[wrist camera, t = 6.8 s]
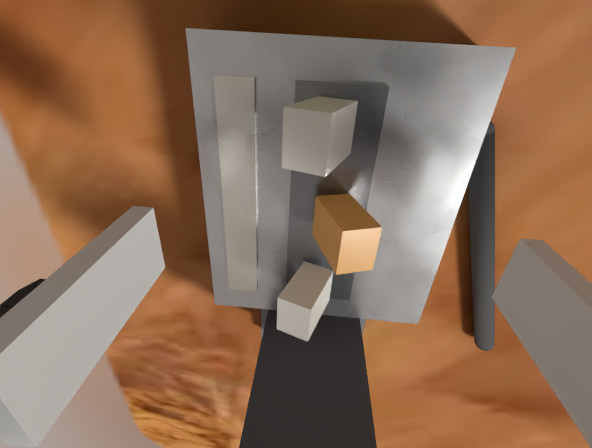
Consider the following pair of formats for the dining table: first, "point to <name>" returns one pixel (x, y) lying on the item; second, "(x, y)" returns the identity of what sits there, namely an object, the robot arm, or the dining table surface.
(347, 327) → the dark grey rectangular block
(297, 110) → the cream colored chunky brick
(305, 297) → the matte cream brick
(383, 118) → the breaker panel
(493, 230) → the dark grey thin rod
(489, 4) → the dining table surface
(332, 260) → the tan cardboard carton
